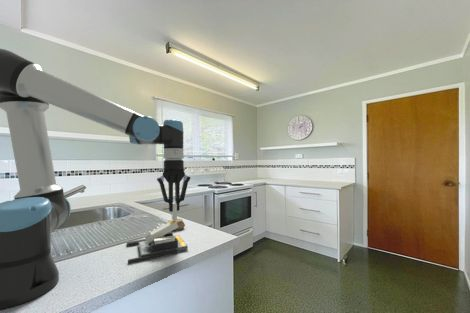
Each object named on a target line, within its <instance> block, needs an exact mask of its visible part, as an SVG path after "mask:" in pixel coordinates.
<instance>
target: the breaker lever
mask: <svg viewBox="0 0 470 313" xmlns="http://www.w3.org/2000/svg"><path fill="white" fill-rule="evenodd" d="M171 220H172V219H171ZM169 221H170V220H169ZM176 228H178V224H177V222H176V221H175V220H174V221H173V220H172V221H170V222H169V223H167V222H166V223H165V224H164V225H161V226H159V227H158V228H156V229H154V230H152V232H151V231H149V232H147V233H145V234H144V239H146V241H147V243H148V244H149V243H151V242H153V241H154V239H157V238H160V237H162V236H164V235H165V234H167V233H169V232H171V231H172V232H173V231H175V230H174V229H176Z"/></svg>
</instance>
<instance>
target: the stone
mask: <svg viewBox="0 0 470 313" xmlns="http://www.w3.org/2000/svg"><path fill="white" fill-rule="evenodd" d="M170 221H172V219H171V220H170V219H169V220H168V221H167V222H166V224H167V223H169V222H170ZM175 221H176V222H177V224H178V228H176V229H174V230H173V231H181V230H183V229H184V228H185V227H186V224H185V222H184V221H183V219H182V218H177V220H175Z"/></svg>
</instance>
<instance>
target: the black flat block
mask: <svg viewBox="0 0 470 313" xmlns="http://www.w3.org/2000/svg"><path fill="white" fill-rule="evenodd" d="M152 231H153V230H152ZM152 231H150V232H152ZM137 246H138V250H139V257H143V256H148V255H153V254H158V253H163V252H168V251H172V250H177V253H180V252H185V251H188V248H189V247H188V244H187V243H186V241H185V240H184V239H183V238H182V236H181V235H180V234H177V235H174V234H173V231H171V232H169V233H167V234H165V235H164V236H162V237H160V238H157V239H154V241H153V242H151V243H149V244H148V243H147V241H141V242H138V245H137Z"/></svg>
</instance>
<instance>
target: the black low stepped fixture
mask: <svg viewBox="0 0 470 313" xmlns="http://www.w3.org/2000/svg"><path fill="white" fill-rule="evenodd" d="M141 241H146V239H145V238H141V239H136V240H131V241H126V248H128V247H133V246H138V242H141ZM177 254H178V252H177V250H172V251H168V252H163V253H158V254H153V255H148V256H143V257H140V256H139V257H134V258H130V259H127V265H129V264H134V263H139V262H143V261H149V260H152V259H157V258H162V257H167V256H171V255H177Z"/></svg>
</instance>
